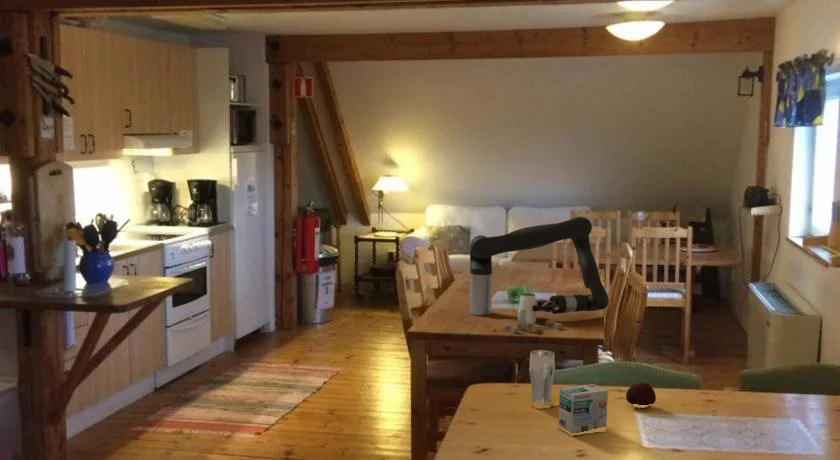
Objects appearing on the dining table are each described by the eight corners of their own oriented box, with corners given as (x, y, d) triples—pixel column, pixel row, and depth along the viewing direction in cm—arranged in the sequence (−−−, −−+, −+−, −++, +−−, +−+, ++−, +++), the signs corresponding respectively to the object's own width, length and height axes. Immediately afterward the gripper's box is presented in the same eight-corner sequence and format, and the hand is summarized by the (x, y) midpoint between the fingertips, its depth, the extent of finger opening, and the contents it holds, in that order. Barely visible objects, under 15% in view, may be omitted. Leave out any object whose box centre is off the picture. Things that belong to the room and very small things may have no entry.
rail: (502, 331, 326) (503, 323, 326) (550, 327, 334) (550, 319, 333) (513, 336, 318) (513, 328, 317) (562, 331, 325) (562, 324, 325)
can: (535, 325, 336) (535, 296, 334) (518, 325, 337) (519, 295, 336) (536, 322, 342) (536, 293, 341) (520, 321, 343) (520, 292, 342)
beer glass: (538, 411, 229) (539, 357, 228) (523, 404, 235) (524, 351, 234) (558, 407, 233) (560, 354, 231) (544, 400, 239) (545, 348, 237)
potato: (619, 405, 235) (620, 381, 234) (644, 402, 238) (645, 378, 237) (636, 413, 228) (637, 388, 227) (661, 409, 231) (662, 385, 231)
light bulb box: (572, 437, 209) (573, 395, 208) (557, 428, 216) (558, 387, 214) (607, 431, 214) (609, 390, 212) (592, 423, 220) (593, 383, 219)
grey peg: (516, 329, 325) (516, 309, 324) (523, 328, 326) (523, 308, 325) (520, 331, 322) (520, 310, 321) (527, 330, 323) (527, 309, 322)
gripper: (554, 292, 351) (519, 294, 345) (572, 298, 338) (536, 300, 332) (553, 309, 352) (519, 312, 346) (571, 316, 338) (536, 319, 333)
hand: (527, 306), depth 339 cm, fingers open, 8 cm apart
